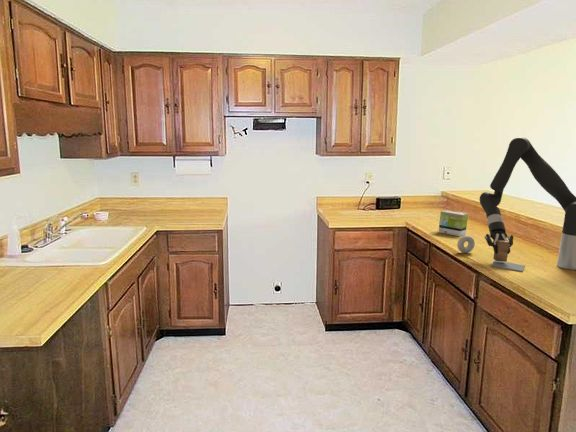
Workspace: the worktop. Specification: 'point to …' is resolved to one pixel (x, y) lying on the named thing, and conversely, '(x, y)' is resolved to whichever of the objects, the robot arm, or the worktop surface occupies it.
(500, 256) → the walnut block
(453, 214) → the tea box
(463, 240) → the donut
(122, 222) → the worktop surface
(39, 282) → the worktop surface
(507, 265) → the rubber mat
